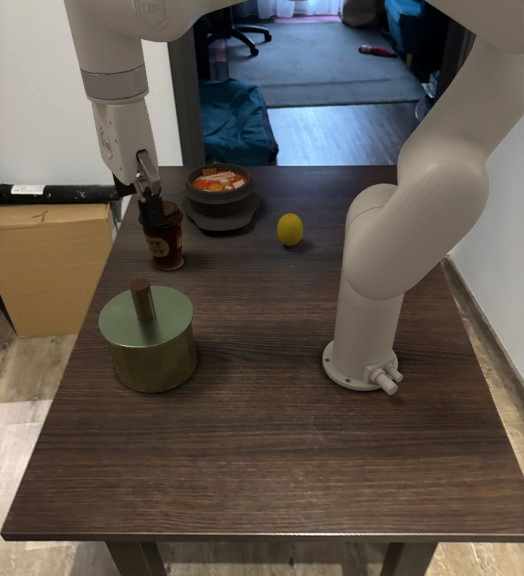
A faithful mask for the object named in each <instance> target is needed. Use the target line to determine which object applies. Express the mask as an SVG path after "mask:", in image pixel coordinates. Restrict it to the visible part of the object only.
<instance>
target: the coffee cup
mask: <svg viewBox="0 0 524 576" xmlns="http://www.w3.org/2000/svg"><path fill="white" fill-rule="evenodd" d="M162 202H163V208H164V214H165V222H164V223H162V224H158V225H155V226H152V227H149V228H144V227H143V226H142V222H141V217H140V214H139V215H138V223H139V224H140V225H141V227H142V231H143V232H142V233H143V235H144V238H145V242H146V244H147V248H148V250H149V253H150V255H151V256H152V264H153V266H154V267H155V268H156V269H158V270H163V271H172V270H173V271H174V270H177V269H179V268H180V267H181V266H183V264H184V258H183V255H182V253H183V230H182V221H183V219H184V212H183V210H181V209H180V208H179V206H178V204H177V203H176V202H174V201H172V200H163V199H162Z"/></svg>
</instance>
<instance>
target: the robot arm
mask: <svg viewBox="0 0 524 576" xmlns="http://www.w3.org/2000/svg"><path fill="white" fill-rule="evenodd" d="M247 1H249V0H63V4H64V8H65V13H66V17H67V21H68V25H69V29H70V33H71V37H72V42H73V46H74V49H75V50H74V51H75V54H76V58H77V63H78V66H79V67H78V68H79V71H80V72H79V73H80V76H81V79H82V84H83V88H84V93H85V97H86V98H87V100H88V101H90V102H91V109H92V115H93V121H94V126H95V131H96V136H97V141H98V147H99V151H100V157H101V159H102V161H103V163H104V164H105V166H106V167H107V168H108V170H110V172H111V174H112V179H113V183H114V187H115V193H116V196H117V197H118V198H120V199H121V198H125V197H129V196H133V195H135V194H137V195H138V200H136V201H137V206H138V211H139V215H140V217H141V222H142V224H141V227H142V226H143V227H144V228H149V227H152V226H155V225H158V224H162V223H164V222H165V214H164V208H163V202H162V200H163V194H162V190H163V189H162V186H161V176H160V175H159V172H160V169H159V168H160V167H159V161H158V154H157V149H156V143H155V138H154V132H153V128H152V123H151V119H150V114H149V111H148V106H147V102H146V99H145V98H146V97H147V96H148V95H149V93H150V87H149V82H148V75H147V68H146V61H145V56H144V48H143V43H142V41H143V40H144V41H148V42H152V43H170V42H173V41H177V40H178V39H179V38H181V37H183V36H184V35H185V34H186V33H187V32H188V31H189V29H191V28H192V27H193V26H194V24H195V23H197V21H198V20H199V19H200V18H201V17H202V16H204V15H207V14H210V13H213V12H215V11H218V10H222V9H224V8H228V7H231V6H234V5H237V4H240V3H244V2H247ZM287 1H289V2H305V1H307V0H287ZM424 1H425V2H426V3H428V4H430V5H431V6H432V7H434V8H435V9H437V10H439V11H440V12H442V13H443V14H444V15H446V16H448V17H449V18H451V19H452V20H454V21H455V22H456V23H458V24H459V25H461V26H462V27H464V28H465V29H466V30H468V31H470V32H472V34H474V35H475V39H474V42H473V45H472V47H471V50H470V52H469V54H468V56H467V58H466V59H465V61H464V62H463V65H462V66H461V67H460V69H459V70H458V72H457V74H456V75H455V77H454V78H453V80H452V81H451V83H450V84H449V86H447V88H446V90H445V91H444V92H443V93H442V95H440V97H439V98H438V100H437V101H436V102H435V103H434V105H433V106H432V107H431V109H430V110H429V111H428V112H427V114H426V115H425V116H424V118H423V119H422V120H421V122H420V123H419V124H418V125H417V126H416V128H415V130H413V131H412V133H411V134H410V135H409V137H408V138H407V139H406V140H405V142H404V143H403V145H402V146H401V148H400V150H399V154H398V156H397V164H396V178H397V179H396V180H397V185H396V184H392V183H377V184H374V185H371V186H368V187H366V188H365V189H363V190H362V191H361V192H359V194H357V196H356V197H355V198H354V199H353V201H352V202H351V204H350V206H349V208H348V211H347V214H346V217H345V226H344V240H343V253H342V263H341V271H340V281H339V289H338V297H337V304H336V305H337V306H336V314H335V315H336V316H335V324H334V334H333V340H332V341H330V342H329V343H328V344H327V345H326V346H325V348H324V350H323V352H322V362H321V363H322V367H323V370H324V372H325V373H326V375H327V376H328V378H329V379H331V380H332V381H333V382H334V383H336V384H337V385H339V386H341V387H344V388H346V389H348V390H353V391H360V392H361V391H362V392H366V391H375V390H378V389H382V390H383V391H384V392H385V393H386V394H388V396H392V395H394V394H395V393H396V392H397V390H398V389H399V386H398V385H397V383H400V382H402V380H403V379H404V375H403V374H402V373H401V372H399V371H398V367H399V362H398V357H397V354H396V353H395V351H394V350H393V346H394V341H395V336H396V333H397V328H398V323H399V318H400V314H401V309H402V305H403V302H404V301H403V300H404V297H405V294H406V292H408V291H409V290H411V289H412V288H413V287H415V286H416V285H417V284H418V283H419V282H421V280H422V279H424V278H425V276H426V275H427V274H428V273H430V272H431V271H432V270H433V269H434V268H435V267H436V266H437V265H438V264H439V263H440V262H441V261H442V260H443V259H444V258H445V257H446V256H448V254H449V253H450V252H451V251H452V250H453V249H454V248H455V247H456V246H457V245H458V244H459V243H460V242H461V241H462V240H463V239H464V238H465V237H466V235H468V234H469V232H470V231H471V230H472V229H473V228H474V226H475V225H476V224H477V222H478V221H479V219H480V218H481V216H482V214H483V212H484V210H485V208H486V205H487V203H488V199H489V194H490V180H489V175H488V170H487V167H486V163H487V160H489V157H490V156H491V155H492V153H493V152H494V151H495V150H496V149H497V147H498V146H499V145H500V144H501V143H502V141H503V140H504V139H505V138H506V137H507V136H508V135H509V133H510V132H511V131H512V129H513V128H514V127H515V126H516V124H517V123H518V122H519V121H520V120H521V118H523V116H524V0H424ZM142 173H143V174H144V175H140V176H137V175H138V174H142ZM145 182H146V184H147V186H145V187H144V190H143V186H142V183H145ZM143 227H142V228H143ZM393 380H394V381H395V382H396V383H395V382H394V381H393Z"/></svg>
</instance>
